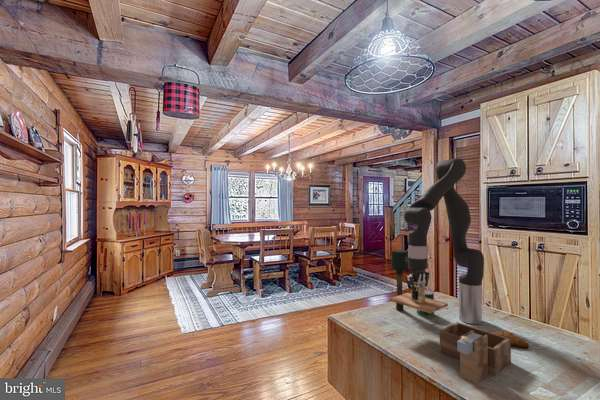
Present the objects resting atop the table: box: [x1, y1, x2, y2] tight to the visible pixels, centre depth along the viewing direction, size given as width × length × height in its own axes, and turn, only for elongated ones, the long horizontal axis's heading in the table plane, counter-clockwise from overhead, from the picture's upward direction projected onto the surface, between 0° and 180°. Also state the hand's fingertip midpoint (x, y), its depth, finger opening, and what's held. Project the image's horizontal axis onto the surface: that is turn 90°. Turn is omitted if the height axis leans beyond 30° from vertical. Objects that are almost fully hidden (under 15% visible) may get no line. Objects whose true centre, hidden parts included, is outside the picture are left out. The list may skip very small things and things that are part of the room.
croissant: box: [491, 330, 530, 349], centre depth 117 cm, size 14×7×5 cm, turn 47°
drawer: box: [457, 332, 482, 355], centre depth 94 cm, size 10×3×4 cm, turn 126°
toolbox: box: [439, 321, 512, 384], centre depth 103 cm, size 22×18×12 cm
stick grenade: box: [390, 249, 409, 312], centre depth 153 cm, size 8×9×30 cm
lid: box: [389, 284, 449, 313], centre depth 122 cm, size 13×18×7 cm
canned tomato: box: [416, 289, 435, 318], centre depth 147 cm, size 8×8×11 cm
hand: (418, 298), depth 122 cm, fingers closed on lid, 3 cm apart
